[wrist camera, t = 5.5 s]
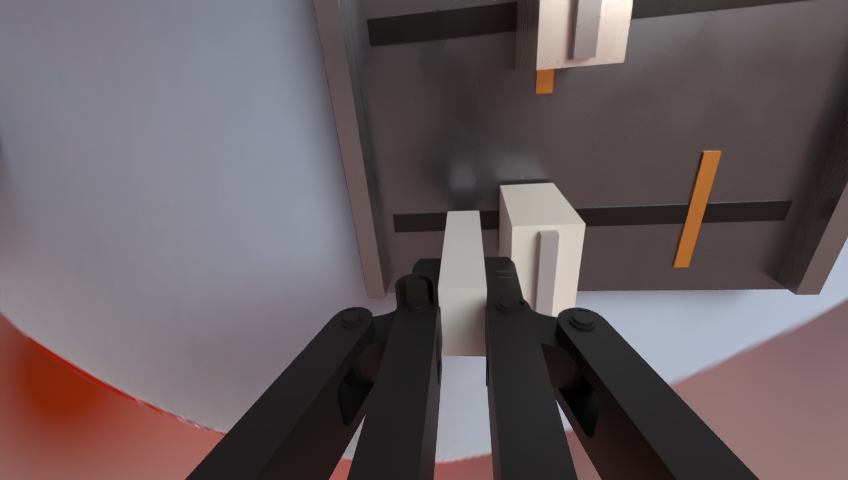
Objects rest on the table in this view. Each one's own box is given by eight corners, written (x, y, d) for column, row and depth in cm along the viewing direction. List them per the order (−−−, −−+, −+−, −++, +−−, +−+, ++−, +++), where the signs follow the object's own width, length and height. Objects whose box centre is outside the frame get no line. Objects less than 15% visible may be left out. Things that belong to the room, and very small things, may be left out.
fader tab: (500, 185, 17) (513, 230, 12) (553, 182, 16) (589, 228, 12) (499, 256, 19) (510, 322, 14) (546, 256, 18) (576, 322, 13)
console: (320, -76, 15) (206, -193, 8) (948, -176, 12) (1549, -486, 5) (378, 275, 23) (342, 357, 16) (767, 269, 20) (921, 368, 13)
